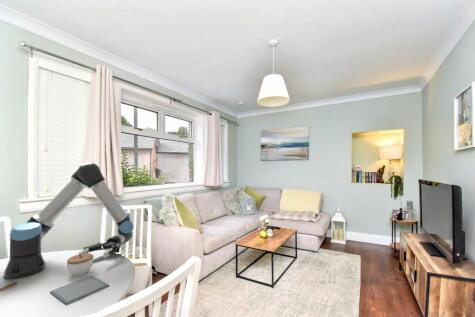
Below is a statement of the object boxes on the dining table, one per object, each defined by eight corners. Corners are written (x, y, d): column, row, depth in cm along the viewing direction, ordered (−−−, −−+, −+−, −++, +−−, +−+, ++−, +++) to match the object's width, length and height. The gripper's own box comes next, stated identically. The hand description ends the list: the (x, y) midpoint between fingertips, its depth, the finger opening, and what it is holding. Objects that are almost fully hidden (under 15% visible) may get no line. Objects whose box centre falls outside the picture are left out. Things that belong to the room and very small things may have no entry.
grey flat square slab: (49, 292, 94) (49, 291, 94) (91, 276, 108) (91, 275, 108) (66, 305, 85) (66, 303, 85) (109, 286, 99) (109, 284, 99)
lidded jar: (79, 279, 105) (80, 259, 106) (61, 277, 107) (61, 257, 108) (98, 269, 116) (98, 250, 116) (80, 267, 118) (81, 249, 118)
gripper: (134, 248, 140) (114, 262, 119) (95, 247, 141) (69, 262, 120) (134, 235, 140) (114, 248, 119) (95, 235, 141) (69, 248, 120)
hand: (91, 255), depth 119 cm, fingers open, 13 cm apart
